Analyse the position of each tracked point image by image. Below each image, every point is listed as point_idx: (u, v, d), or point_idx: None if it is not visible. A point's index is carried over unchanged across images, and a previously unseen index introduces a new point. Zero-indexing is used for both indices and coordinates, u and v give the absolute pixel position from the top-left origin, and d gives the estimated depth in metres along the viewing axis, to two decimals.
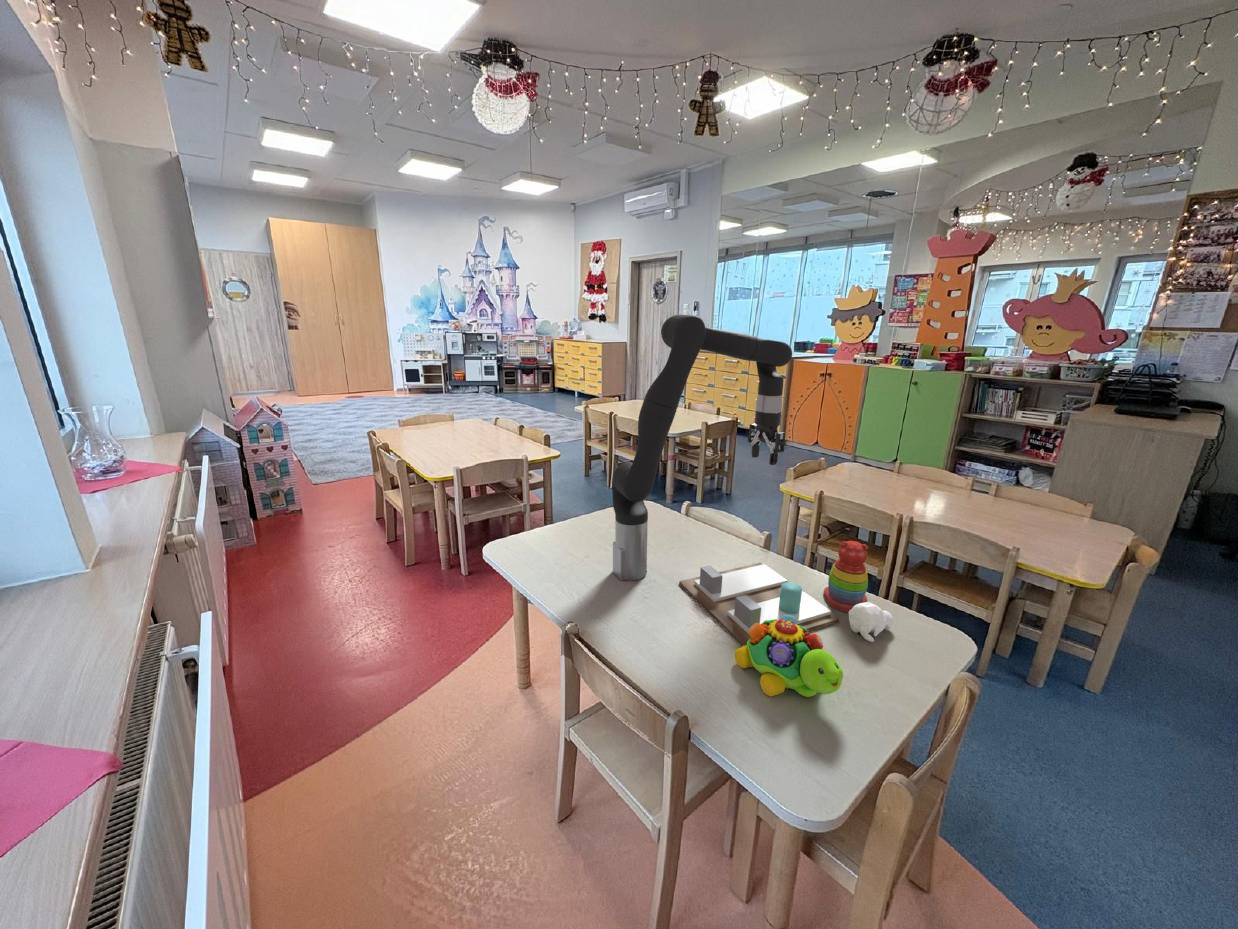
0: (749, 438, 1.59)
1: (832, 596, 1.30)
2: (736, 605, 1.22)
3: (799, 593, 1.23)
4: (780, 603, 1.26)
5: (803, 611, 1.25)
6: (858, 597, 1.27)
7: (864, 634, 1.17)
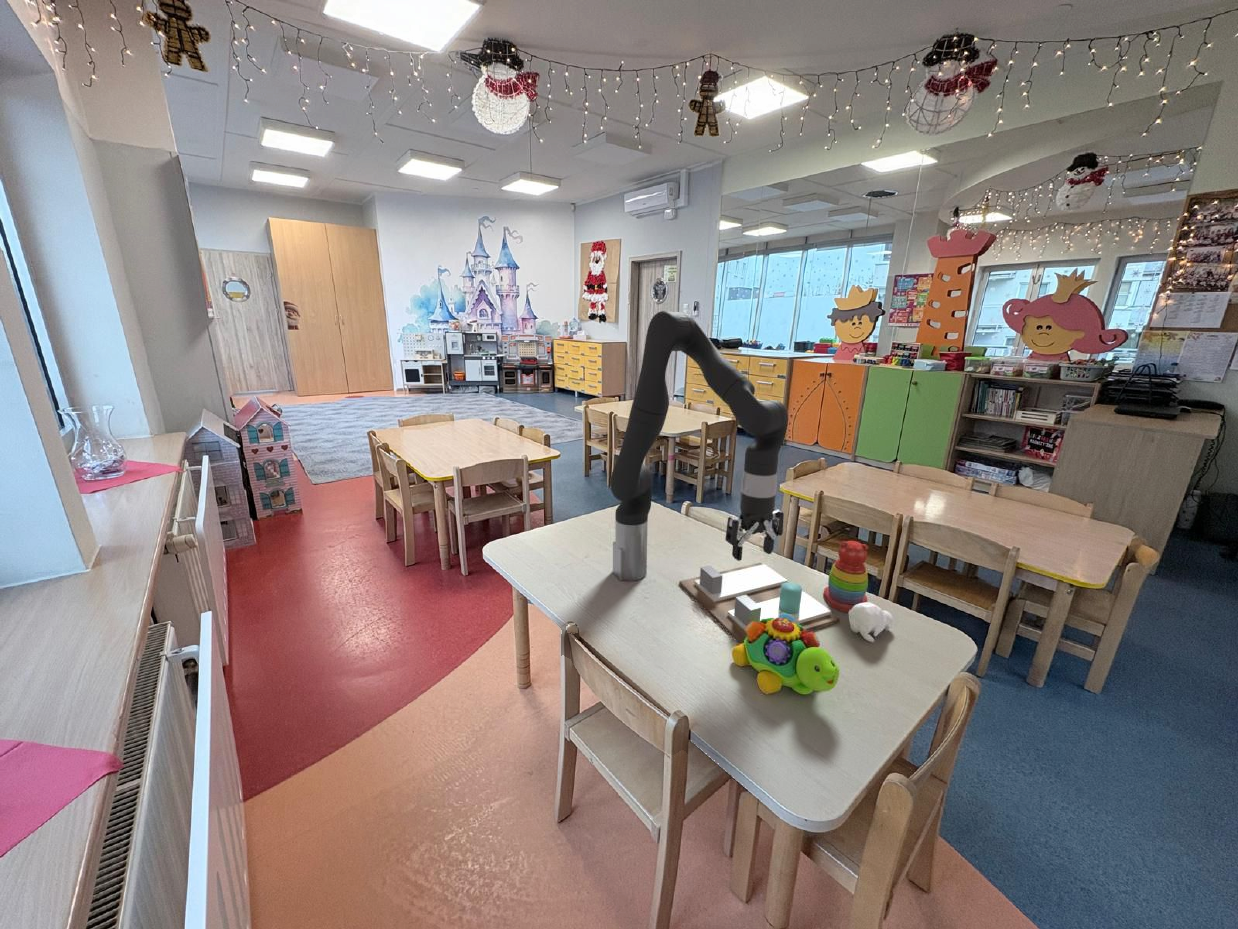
0: (734, 540, 1.11)
1: (832, 596, 1.30)
2: (736, 605, 1.22)
3: (799, 593, 1.23)
4: (780, 603, 1.26)
5: (803, 611, 1.25)
6: (858, 597, 1.27)
7: (864, 634, 1.17)
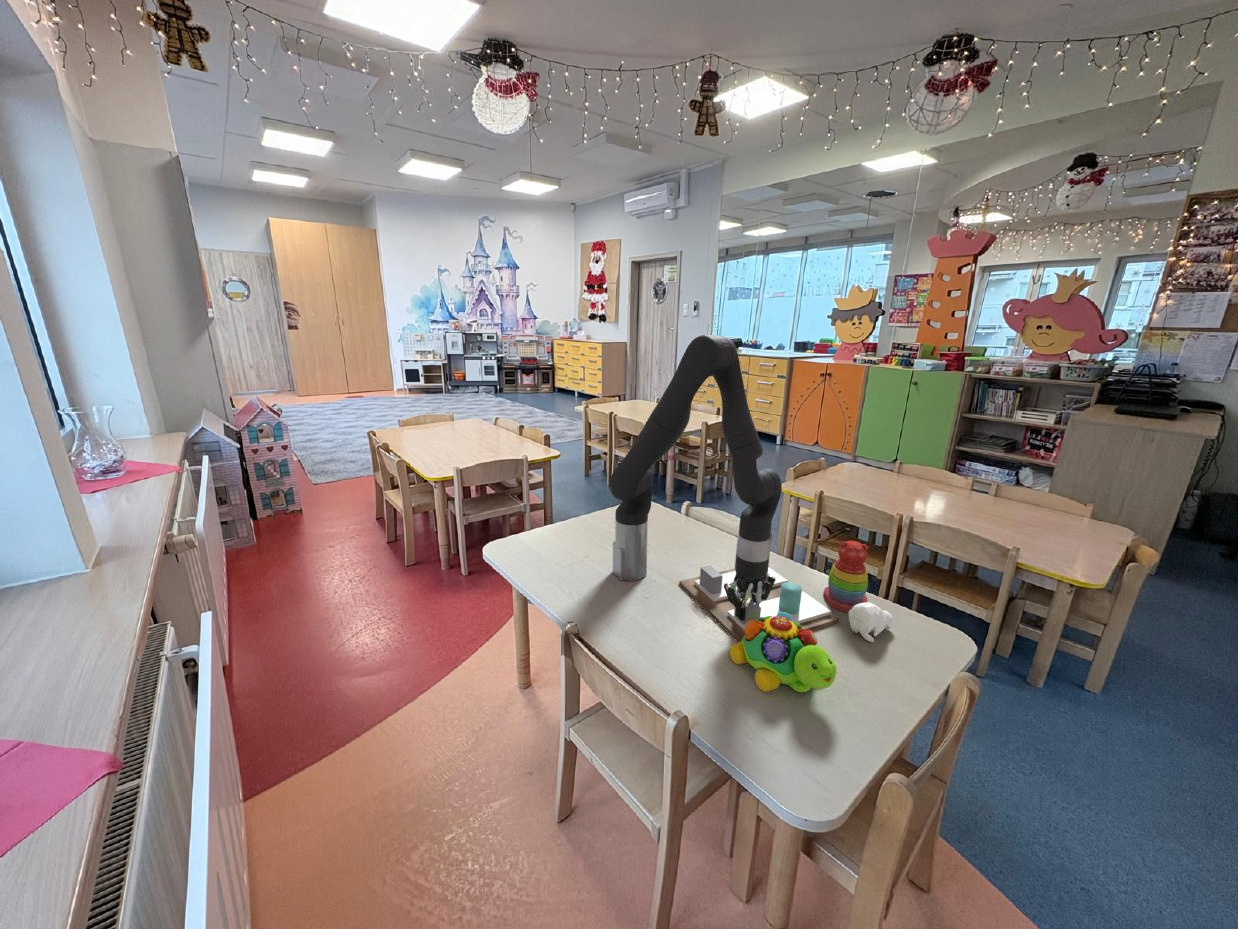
0: (738, 602, 1.17)
1: (832, 596, 1.30)
2: None
3: (799, 593, 1.23)
4: (780, 603, 1.26)
5: (803, 611, 1.25)
6: (858, 597, 1.27)
7: (864, 634, 1.17)
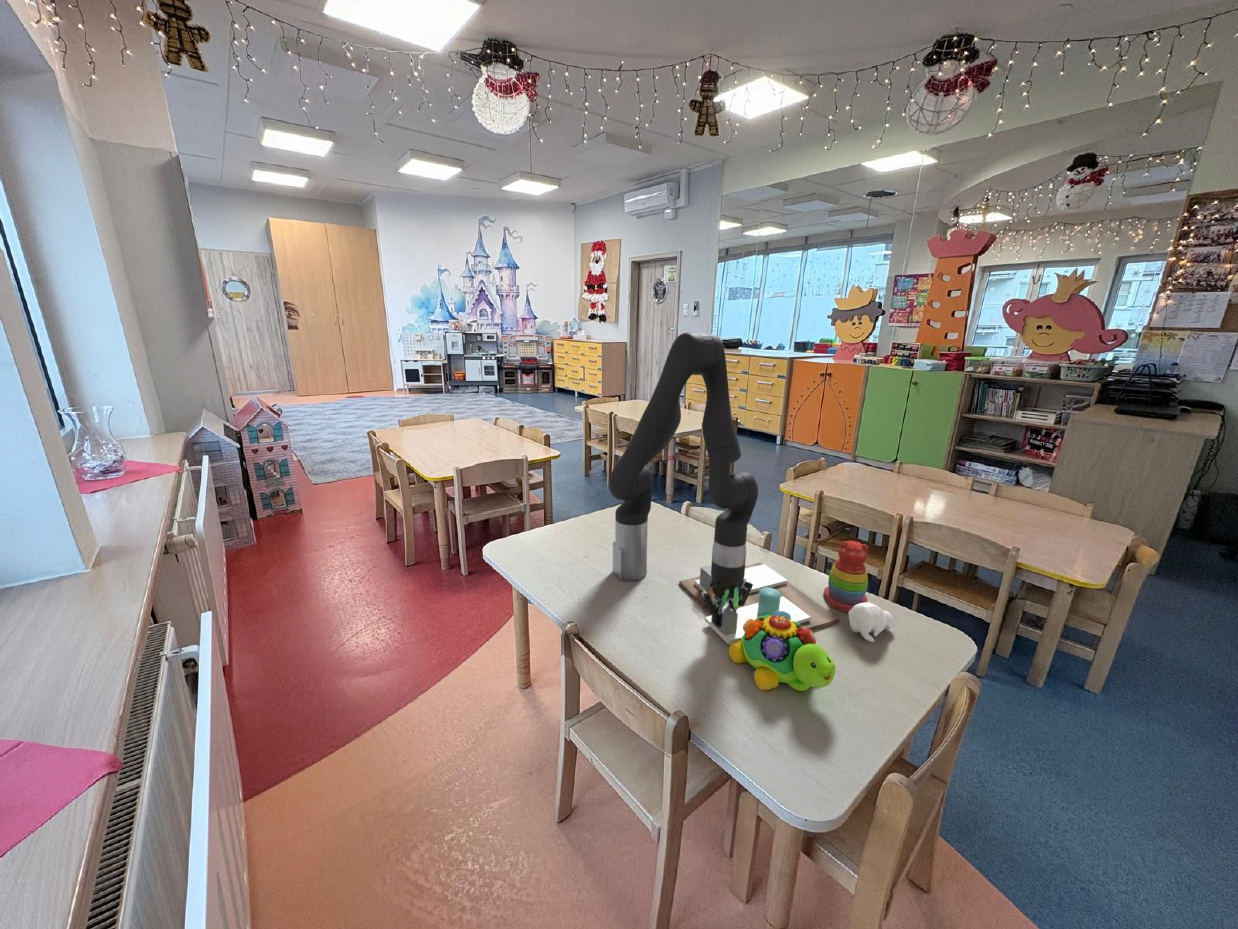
0: (714, 609, 1.15)
1: (832, 596, 1.30)
2: None
3: (777, 599, 1.20)
4: (758, 609, 1.23)
5: None
6: (858, 597, 1.27)
7: (864, 634, 1.17)
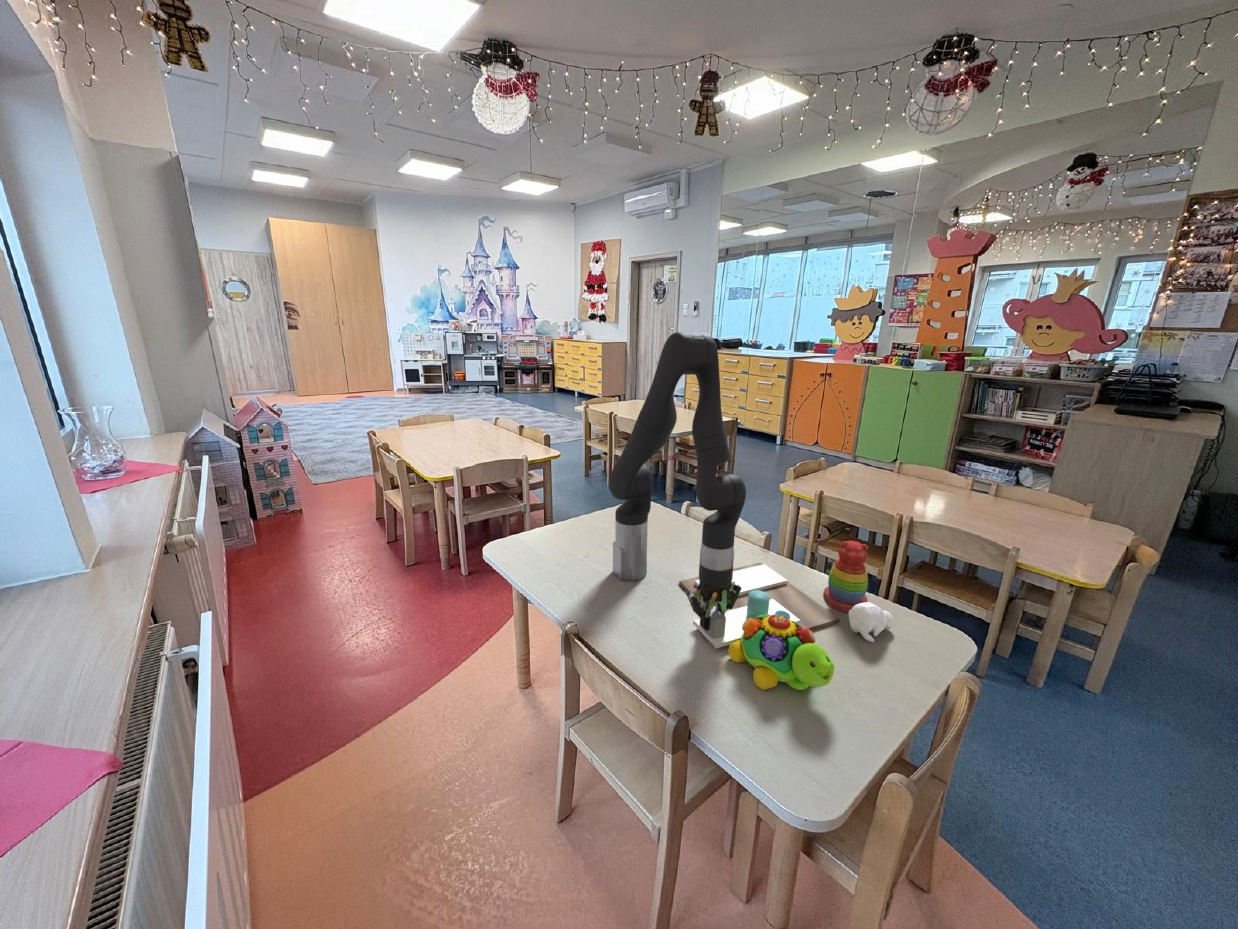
0: (701, 612, 1.13)
1: (832, 596, 1.30)
2: None
3: (766, 602, 1.19)
4: (747, 612, 1.22)
5: None
6: (858, 597, 1.27)
7: (864, 634, 1.17)
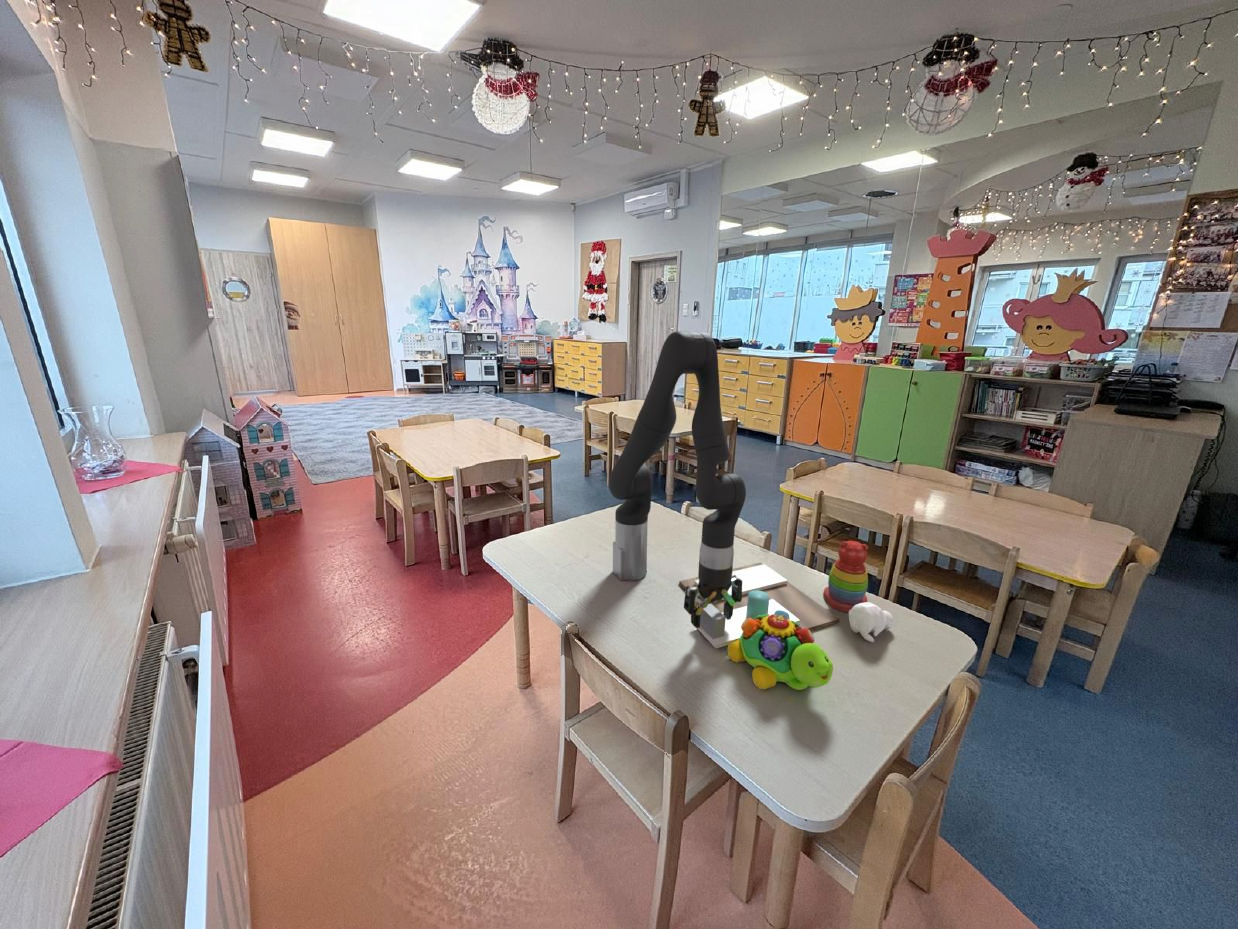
0: (692, 609, 1.12)
1: (832, 596, 1.30)
2: (701, 614, 1.18)
3: (766, 602, 1.19)
4: (747, 612, 1.22)
5: None
6: (858, 597, 1.27)
7: (864, 634, 1.17)
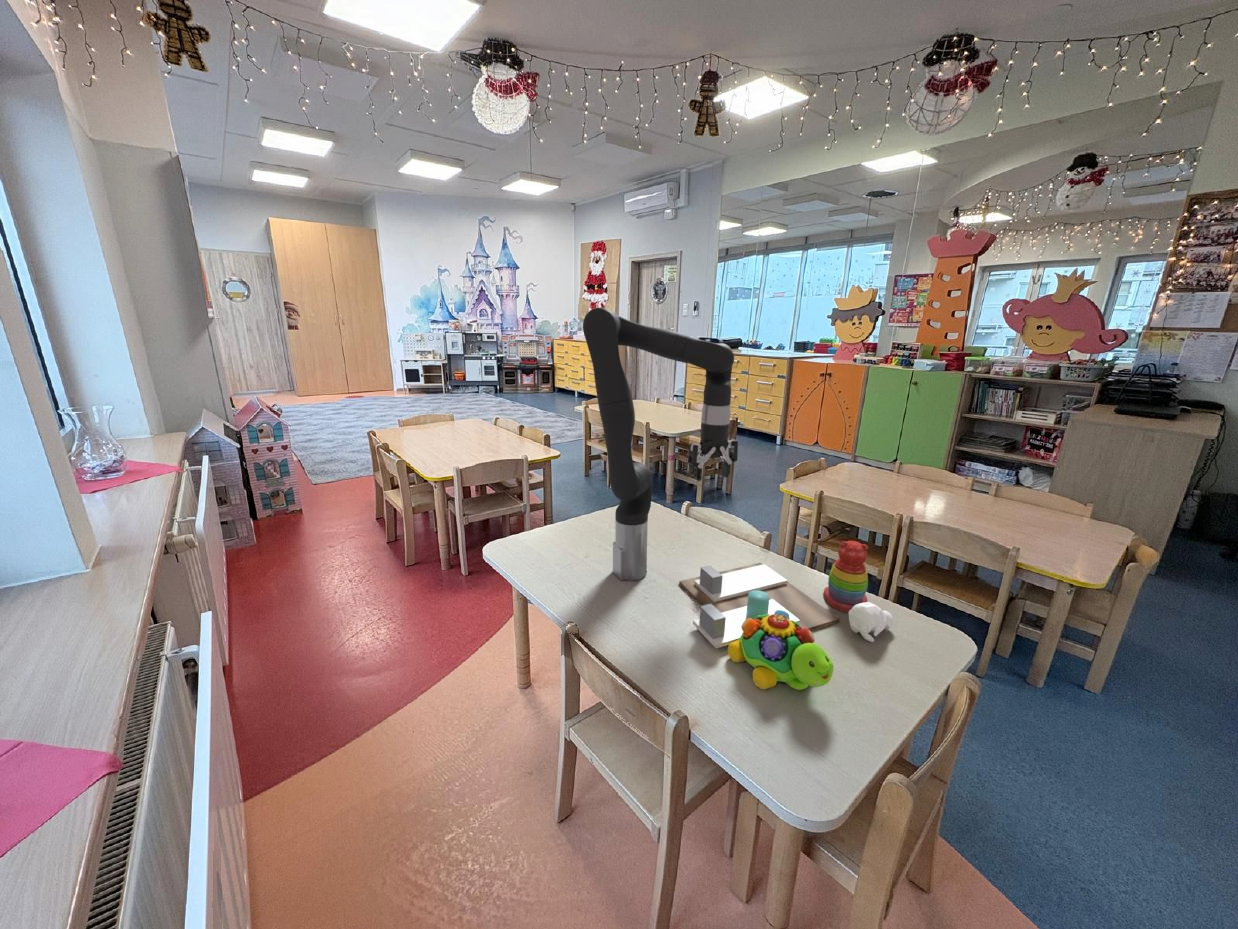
0: (695, 462, 1.33)
1: (832, 596, 1.30)
2: (701, 614, 1.18)
3: (766, 602, 1.19)
4: (747, 612, 1.22)
5: None
6: (858, 597, 1.27)
7: (864, 634, 1.17)
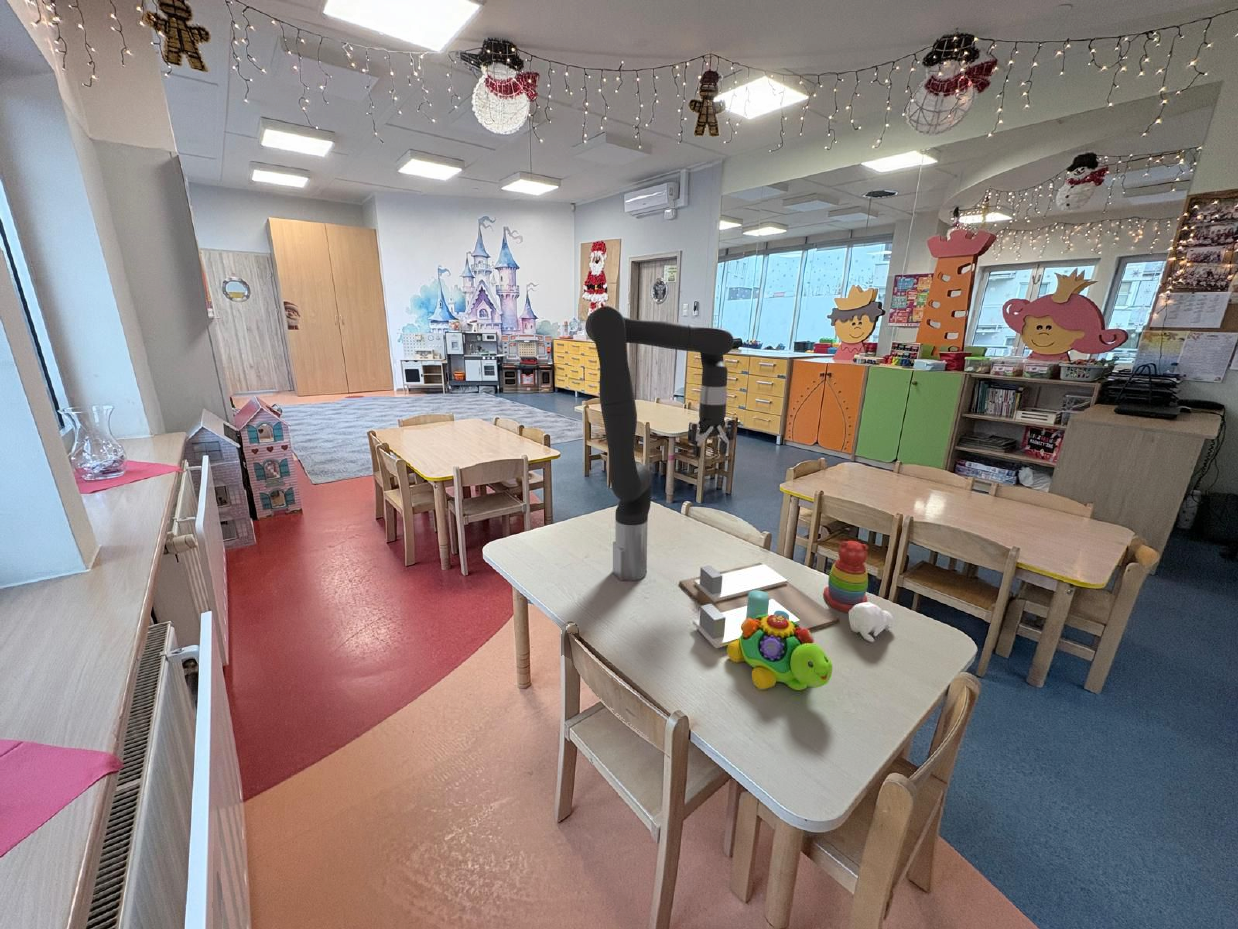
0: (694, 440, 1.42)
1: (832, 596, 1.30)
2: (701, 614, 1.18)
3: (766, 602, 1.19)
4: (747, 612, 1.22)
5: None
6: (858, 597, 1.27)
7: (864, 634, 1.17)
